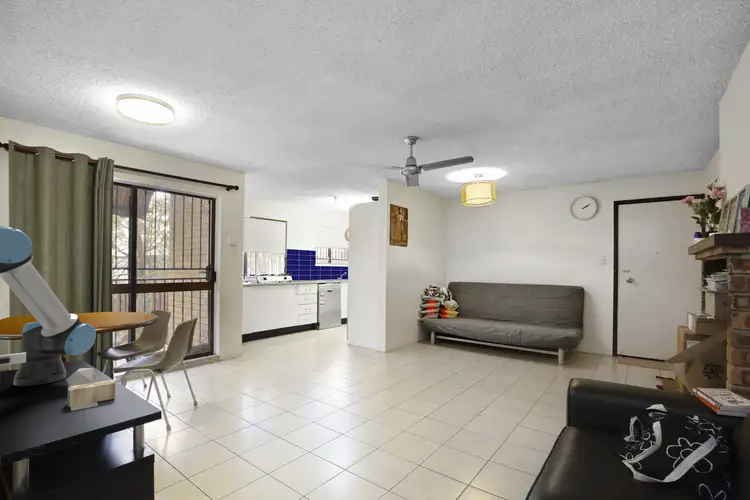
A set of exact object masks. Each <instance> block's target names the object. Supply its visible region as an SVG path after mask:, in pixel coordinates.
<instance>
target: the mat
mask: <svg viewBox="0 0 750 500" xmlns="http://www.w3.org/2000/svg"><path fill="white" fill-rule="evenodd" d="M98 406H99V404H98V402H93V403H87V404H82V405H76V406H71V407H70V411H72V412H74V411H78V410H83V409H90V408H95V407H98Z"/></svg>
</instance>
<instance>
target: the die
mask: <svg viewBox="0 0 750 500" xmlns="http://www.w3.org/2000/svg"><path fill="white" fill-rule="evenodd" d="M65 381H66V383H67V385H68V387H70V386H76V385H83V384H89V383H96V382H100V378H99V376H98V374H97V372H96V370H95V368H94V367H87V368H86V367H81V368H80V367H79V368H78V369H77V370H76V371H75V372H74V373H72V374H71V375H70V376H69V377H67V378H66V380H65Z"/></svg>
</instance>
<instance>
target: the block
mask: <svg viewBox="0 0 750 500" xmlns="http://www.w3.org/2000/svg"><path fill="white" fill-rule="evenodd" d="M66 398H67V399H66V400H67V401H66V404H67V405H66V407H67V408H71V406H76V405H82V404H87V403H93V402H97V403H98V402H103V401H108V400H114V399H116V382H115V379H110V380H104V381H102V380H101V381H99V382H96V383H89V384H83V385H76V386H70V387H69V386H67V397H66Z"/></svg>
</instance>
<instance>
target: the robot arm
mask: <svg viewBox="0 0 750 500" xmlns="http://www.w3.org/2000/svg"><path fill="white" fill-rule="evenodd" d="M32 247H33V244H32V241H31V238H30V237H29V236H28V235H27V233H25V232H23V231H22V230H20V229H17V228H14V227H10V226H0V277H1V279H2V280H3V281H4V283H6V285H7V286H8V287H9V289H10V290H12V292H13V294H15V296H16V297H17V298H18V299H19V300H20V302H21V303H22V304H23V305H24V307H25V308H26V309H27V310H28V312H29V313H30V314H31V315H32V316H33V318H34V319H35V320H36V321H34V322H33V321H32V322H27V323H25V324H24V325H23V328H22V332H21V352H20V353H18V352H17V353H10V354H9V353H8V354H2V355H0V367H1V366H7V365H8V366H9V365H10V366H11V365H16V364H19V367H18V368H17V370H16V373H15V376H14V378H13V386H17V387H30V386H32V387H33V386H39V385H45V384H46V385H47V384H49V383H55V382H58V381H61V380H62V381H63V379H65V378H66V377H67V370H66V368H65V365H64V362H63V360H62V356H63V355H64V356H79V355H82V354H84V353H87V352H88V351H89V350H90V349H91V348H92V347H93V345H94V344H95V342H96V341H95V339H96V338H97V333H96V332H97V331H96V329H95V327H94V326H93V325H91V324H89V323H86V322H85V323H83V322H82V320H81V319H80V318H79V316H78V315H77V314H75V313H70V312H69V311H68V310H67V309H66V307H65V306H64V305H63V303H62V302H61V300H60V299H59V297H58V296H57V295H56V293H55V292H54V291H53V290H52V289H51V287H50V286H49V285H48V283H47V282H46V281H45V279H44V278H43V276H41V274H40V272H39V271H38V270H37V268H35V266H34V264H33V263H32V262H33V259H34V256H33V254H32V251H33V250H32Z"/></svg>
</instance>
